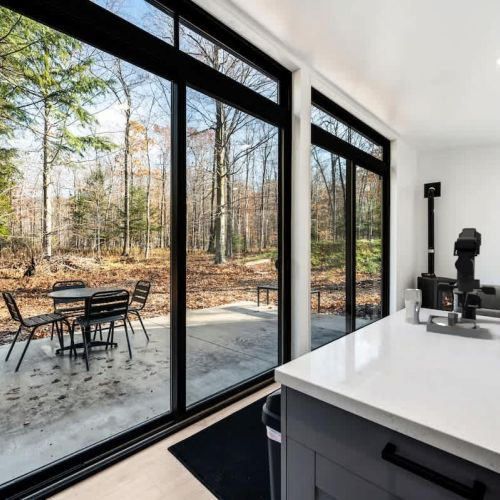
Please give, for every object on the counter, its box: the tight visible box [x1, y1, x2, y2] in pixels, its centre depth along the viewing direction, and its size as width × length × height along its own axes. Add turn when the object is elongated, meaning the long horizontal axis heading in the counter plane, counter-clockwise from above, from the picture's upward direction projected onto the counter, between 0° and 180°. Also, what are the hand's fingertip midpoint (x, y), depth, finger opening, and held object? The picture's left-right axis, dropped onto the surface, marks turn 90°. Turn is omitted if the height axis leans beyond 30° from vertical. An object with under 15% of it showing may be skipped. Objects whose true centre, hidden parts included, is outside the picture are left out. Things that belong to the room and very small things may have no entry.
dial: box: [432, 312, 475, 329], centre depth 132 cm, size 17×15×5 cm
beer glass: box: [403, 288, 423, 325], centre depth 145 cm, size 7×7×15 cm
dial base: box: [425, 314, 482, 340], centre depth 133 cm, size 18×18×4 cm
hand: (464, 310), depth 125 cm, fingers closed
